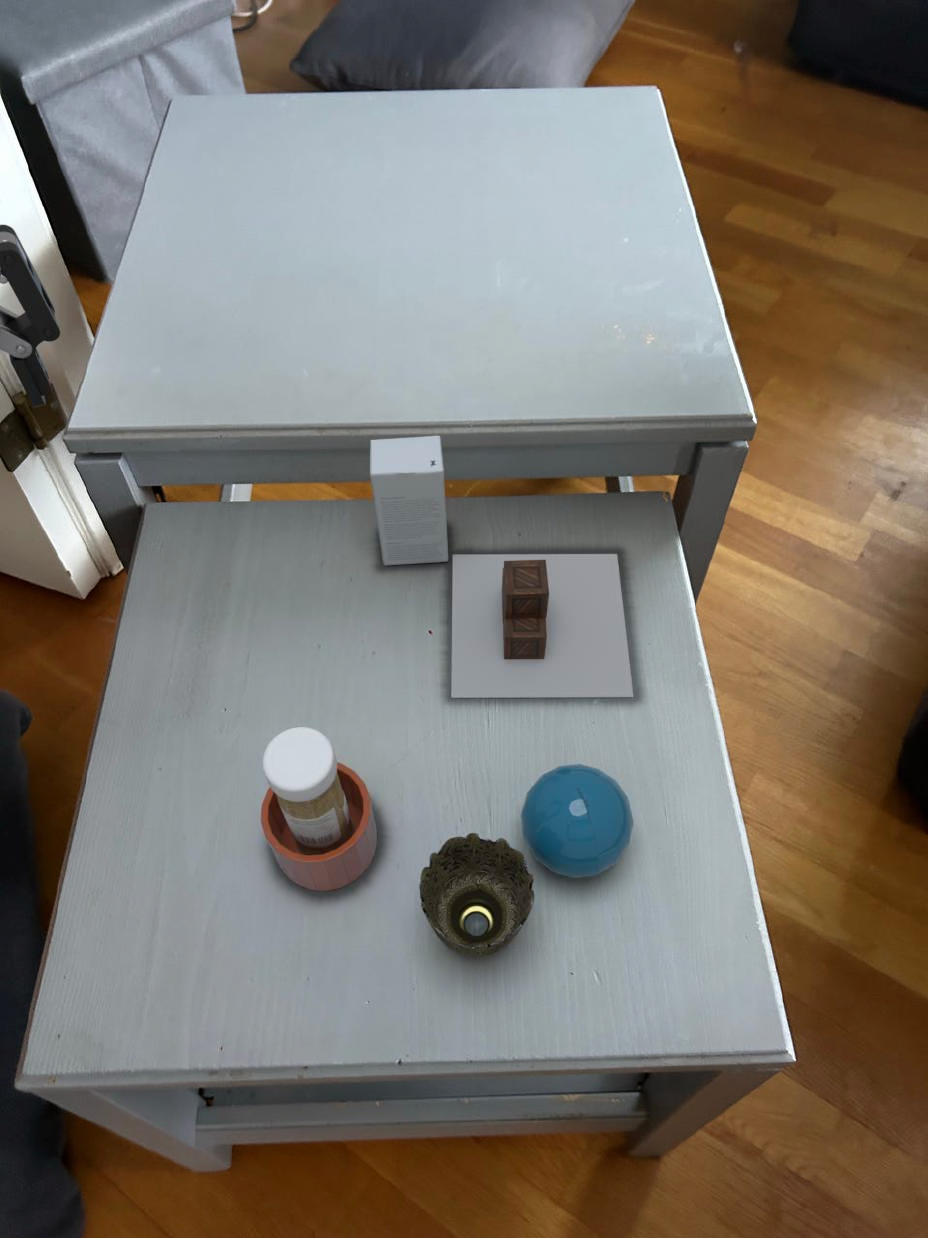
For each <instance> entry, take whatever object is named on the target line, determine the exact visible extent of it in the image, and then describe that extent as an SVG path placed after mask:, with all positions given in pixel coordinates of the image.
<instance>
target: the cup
mask: <svg viewBox="0 0 928 1238" xmlns="http://www.w3.org/2000/svg"><path fill="white" fill-rule="evenodd" d="M419 879H420V881H419V887H418V888H419V897H420V900H421V902H420V906H421V910H422V912H423V914H424V915H425V918H426V920H427V922H428V924H429V925H430V928H431V929H432V931H433V932H434V933H435V935H436V936H437V938H438V939H439V940H440V941H441V942H442V943H443V944H444V945H445V946H446V947H448V948H449V949H450V950H451V951H454V952H455V953H458V954H460V955H462V956H466V957H474V958H482V957H488V956H491V955H494V954H496V953H498V952H500V951H502V950H503V949H505V948H506V947H507V946H508V945H510V944H511V943H512V942H513V941H514V940H515V939H516V937H517V936H518V934H519V933H520V932H521V930H522V928H523V927H524V924H525V923H526V921H527V920H528V918H529V916H530V913H531V911H532V908H533V905H534V901H535V891H534V890H533V884H534V881H535V878H534V875H533V873H530V872H529V867H528V862H527V860H526V858H525V855H524V854H523V853H522V852H521V851H520V850H519V849H517V848H515V847H511V844H510V843H509V841H508V840H507V839H505V838H502V837H499V838H498V839H496V840H495V841H493V840H491V839H490V838H486V839H484V838H480V836H479V833H477V832H470V833H468V834H467V835H466V836H465V837H464V836H454V837H451V838H448V839H447V840H446V841H445V842H444V843H443V844H442V846H441V848H440V849H439V851H434V852H432V853H430V854H429V865H428V866H424V867H423V868H422V870H421V873H420V878H419ZM475 913H476V914H477V913H478V914H480V915H483V916H484V917H485V919H486V921H487V928H486V930H485V931H484V932H483V933H482V934H479V935H474V934H471V933H470V932H469V931H468V930H467V928H466V921H467V918H468V917H469V916H470V915H472V914H475Z"/></svg>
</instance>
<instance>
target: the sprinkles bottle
mask: <svg viewBox="0 0 928 1238" xmlns="http://www.w3.org/2000/svg"><path fill="white" fill-rule="evenodd" d="M337 762H338V761H337V757H336V753H335V750H334V747H333V744H332V743H331V741H330V740H329V738H328V737H327V736H326V735H325V734H324V733H322V732H320V731H319V730H317V729H315V728H312V727H306V726H298V727H292V728H288V729H286V730H283V731H281V732H280V733H278V734H277V735H276V736H275V737H274V738H272V739H271V740H270V742H269V743H268V745H267V746H266V748H265V751H264V752H263V757H262V770H263V773H264V776H265V779H266V781H267V783H268V786H269V788H270V787H271V789H272V790H273V791H274V792H275V793H276V795H277V798H278V802H279V805H280V807H281V810H282V812H283V814H284V817H285V819H286V821H287V824H288V826H289V828H290V831H291V833H292V835H293V836H294V838H295V843H296V846H297V848H298V850H299V852H300V854H303V855H307V856H308V855H322V854H325V853H328V852H330V851H333V850H336V849H338V848H339V847H340V846H342V845H343V844H344V843H346V842H347V841H348V840H350V838H351V837H352V836H353V834H354V833H355V826H354V823H353V821H352V819H351V817H350V812H349V808H348V804H347V801H346V797H345V794H344V792H343V790H342V787H341V784H340V781H339V777H338V774H337Z"/></svg>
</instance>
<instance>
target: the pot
mask: <svg viewBox="0 0 928 1238" xmlns="http://www.w3.org/2000/svg"><path fill="white" fill-rule="evenodd" d="M337 774H338V777H339V781H340V784H341V787H342V790H343V792H344V794H345V797H346V801H347V804H348V808H349V812H350V817H351V819H352V821H353V823H354V826H355V833H354V834H353V836H352V837H351V838H350V840H348V841H347V842H346V843H344V844H343V845H342V846H340V847H339V848H338V849H336V850H333V851H330V852H328V853H325V854H322V855H308V856H307V855H303V854H300V852H299V850H298V848H297V846H296V843H295V838H294V836H293V835H292V833H291V831H290V828H289V826H288V824H287V821H286V819H285V817H284V814H283V812H282V810H281V807H280V805H279V802H278V798H277V795H276V793H275V792H274V791H273V790H272V789H271V787H270V786H269V787H268V789H267V791H266V793H265V796H264V799H263V801H262V803H261V810H260V824H261V827H262V830H263V834H264V837H265V839H266V841H267V843H268V845H269V847H270V849H271V851H272V854H273V856H274V857H275V860H276V861H277V864H278V866H279V867H280V868H281V870H282V872H283V873H284V874H285V876H286V877H287V878H288V879H290V881H292V882H293V883H294V884H295V885H298V886H300V887H302V888H304V889H306V890H312V891H316V892H317V891H318V892H326V891H327V892H328V891H333V890H338V889H341V888H344V887H346V886H348V885H349V884H351V883H353V882H355V881H356V880H357V879H358V878H360V877H361V875H363V873H365V872H366V870H367V869H368V868H369V867H370V864H371V863H372V862H373V859H374V857H375V854H376V851H377V846H378V833H377V829H378V828H377V824H376V819H375V813H374V809H373V805H372V801H371V796H370V793H369V791H368V788H367V785H366V783H365V781H364V780H363V779H362V778H361V777H360V775H359V774H358V773H357V772H356V771H355V770H354V769H352V768H350V767H348V766H347V765H345V764H343V763H341V762H338V761H337Z"/></svg>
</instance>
